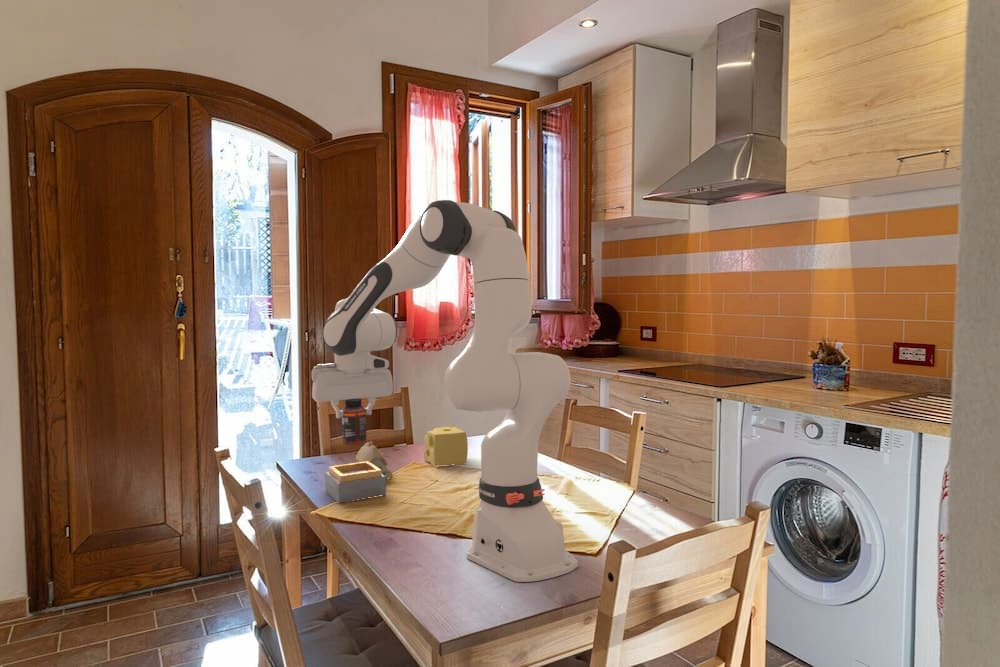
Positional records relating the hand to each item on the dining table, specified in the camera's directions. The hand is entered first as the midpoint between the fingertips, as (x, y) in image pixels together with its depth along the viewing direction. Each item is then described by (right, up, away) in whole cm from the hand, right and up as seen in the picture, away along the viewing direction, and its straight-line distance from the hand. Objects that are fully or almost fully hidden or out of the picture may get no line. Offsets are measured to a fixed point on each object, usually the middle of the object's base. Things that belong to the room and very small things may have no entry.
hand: (353, 416), depth 166 cm
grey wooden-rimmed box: (0, -20, +1) cm, 20 cm away
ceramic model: (+1, -19, +17) cm, 26 cm away
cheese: (+21, -18, +32) cm, 42 cm away
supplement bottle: (0, -7, 0) cm, 7 cm away
